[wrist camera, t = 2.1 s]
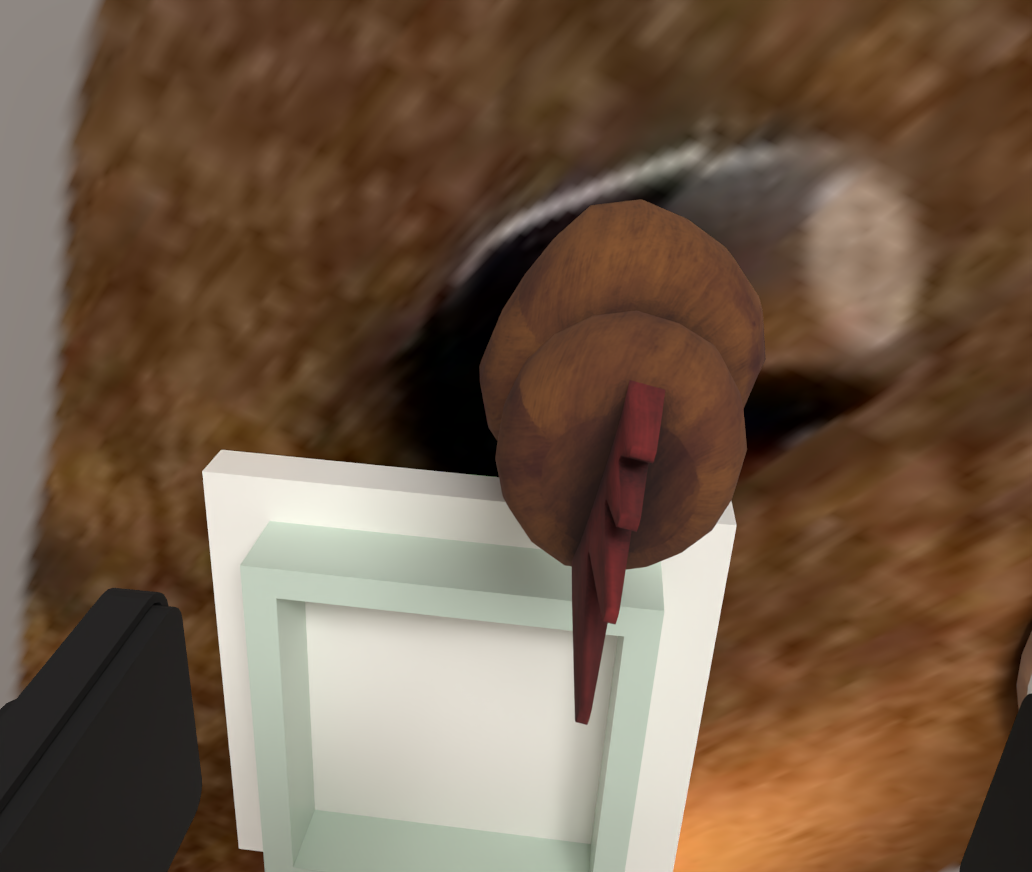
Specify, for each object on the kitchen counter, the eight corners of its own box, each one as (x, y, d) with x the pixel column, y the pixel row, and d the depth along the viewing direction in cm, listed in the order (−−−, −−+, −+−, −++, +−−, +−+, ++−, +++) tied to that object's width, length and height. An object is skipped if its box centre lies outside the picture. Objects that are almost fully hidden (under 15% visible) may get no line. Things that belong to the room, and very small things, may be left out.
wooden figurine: (629, 442, 28) (634, 853, 15) (470, 333, 27) (321, 666, 14) (782, 263, 26) (960, 566, 12) (610, 135, 25) (597, 309, 11)
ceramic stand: (731, 500, 29) (746, 573, 25) (665, 868, 36) (670, 967, 32) (221, 449, 30) (166, 512, 26) (253, 817, 37) (212, 906, 33)
